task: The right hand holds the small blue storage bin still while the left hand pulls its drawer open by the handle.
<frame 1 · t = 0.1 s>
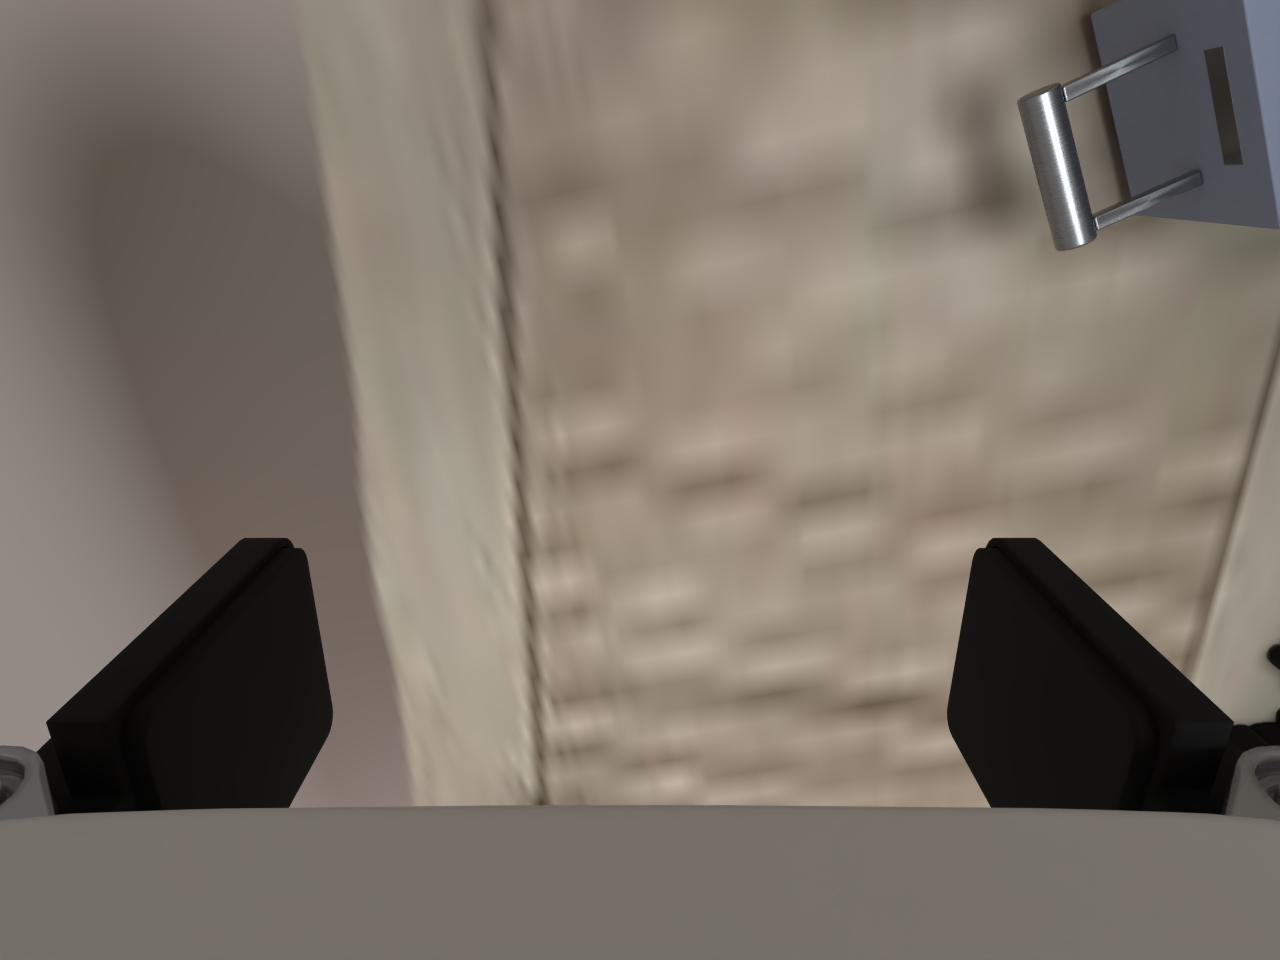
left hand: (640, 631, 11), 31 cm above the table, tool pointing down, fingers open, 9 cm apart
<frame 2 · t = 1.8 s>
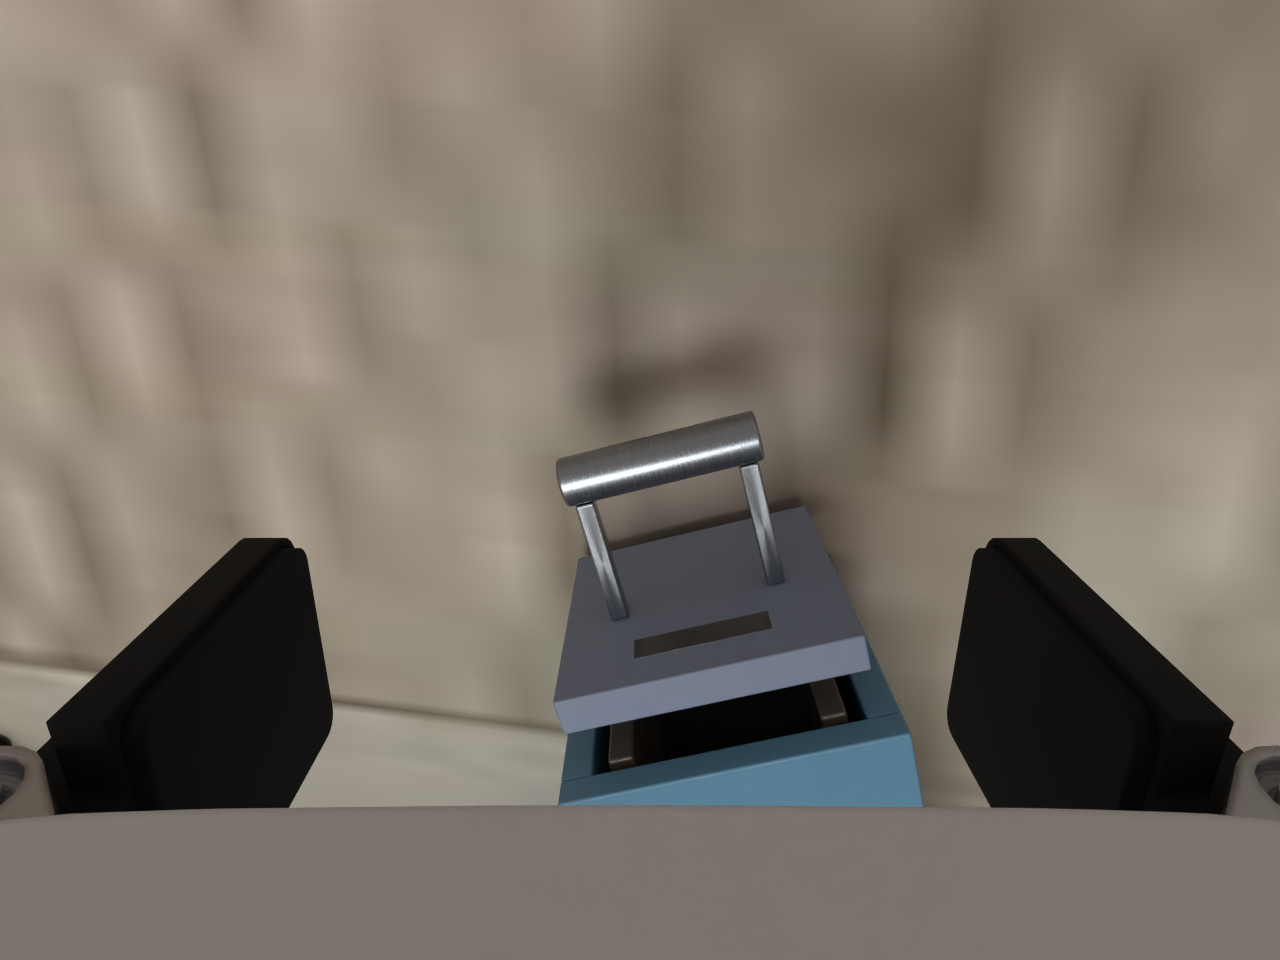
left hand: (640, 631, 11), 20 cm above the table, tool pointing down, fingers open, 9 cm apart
blue storage bin: (751, 756, 37), on the table
drawer: (733, 727, 29), point 6 cm above the table, slide at 1.6 cm
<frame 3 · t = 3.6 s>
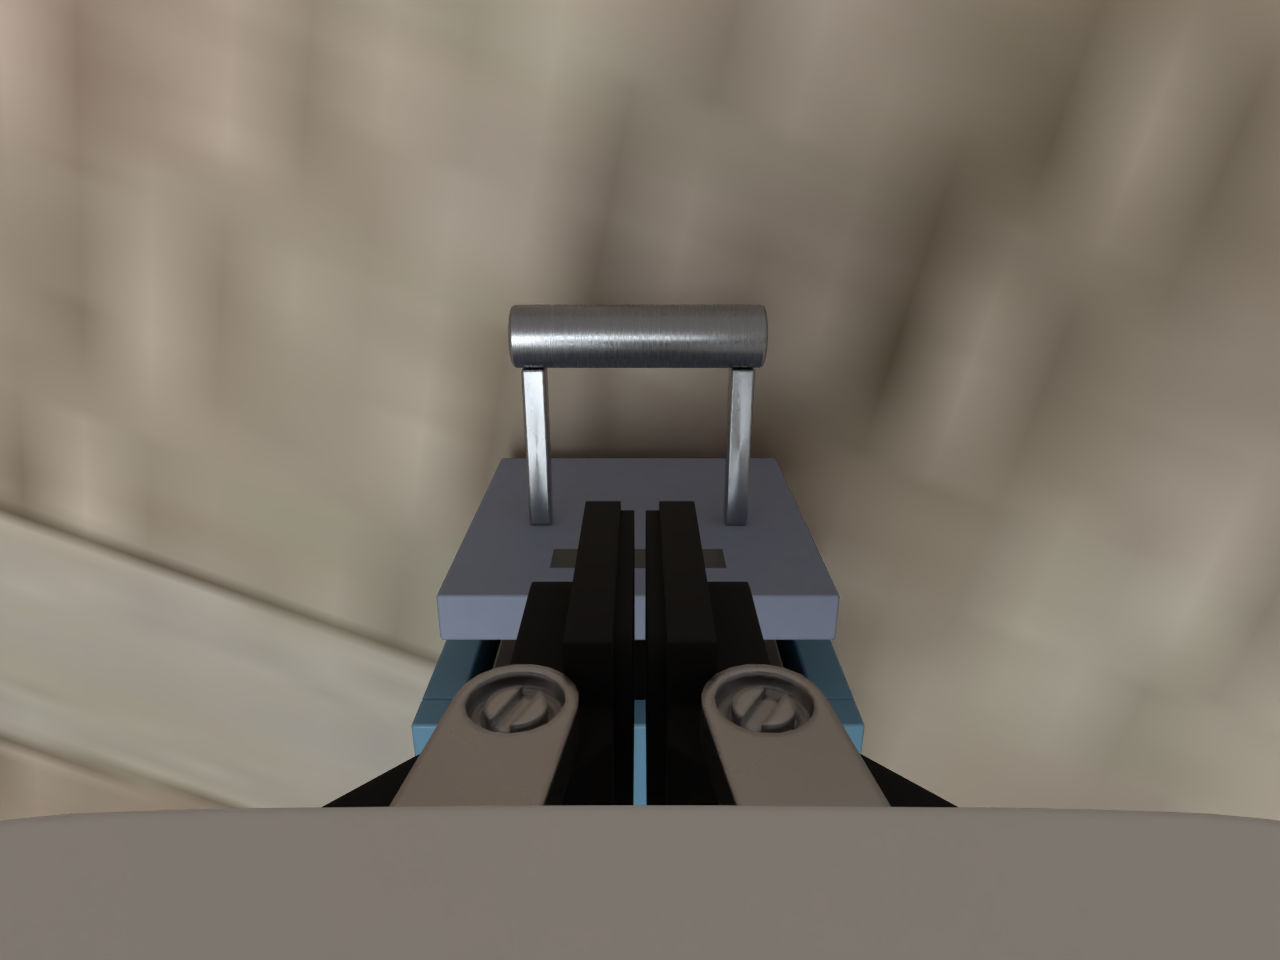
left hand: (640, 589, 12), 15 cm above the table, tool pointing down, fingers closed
blue storage bin: (638, 736, 32), on the table, touching right hand
drawer: (638, 688, 25), point 6 cm above the table, slide at 1.6 cm
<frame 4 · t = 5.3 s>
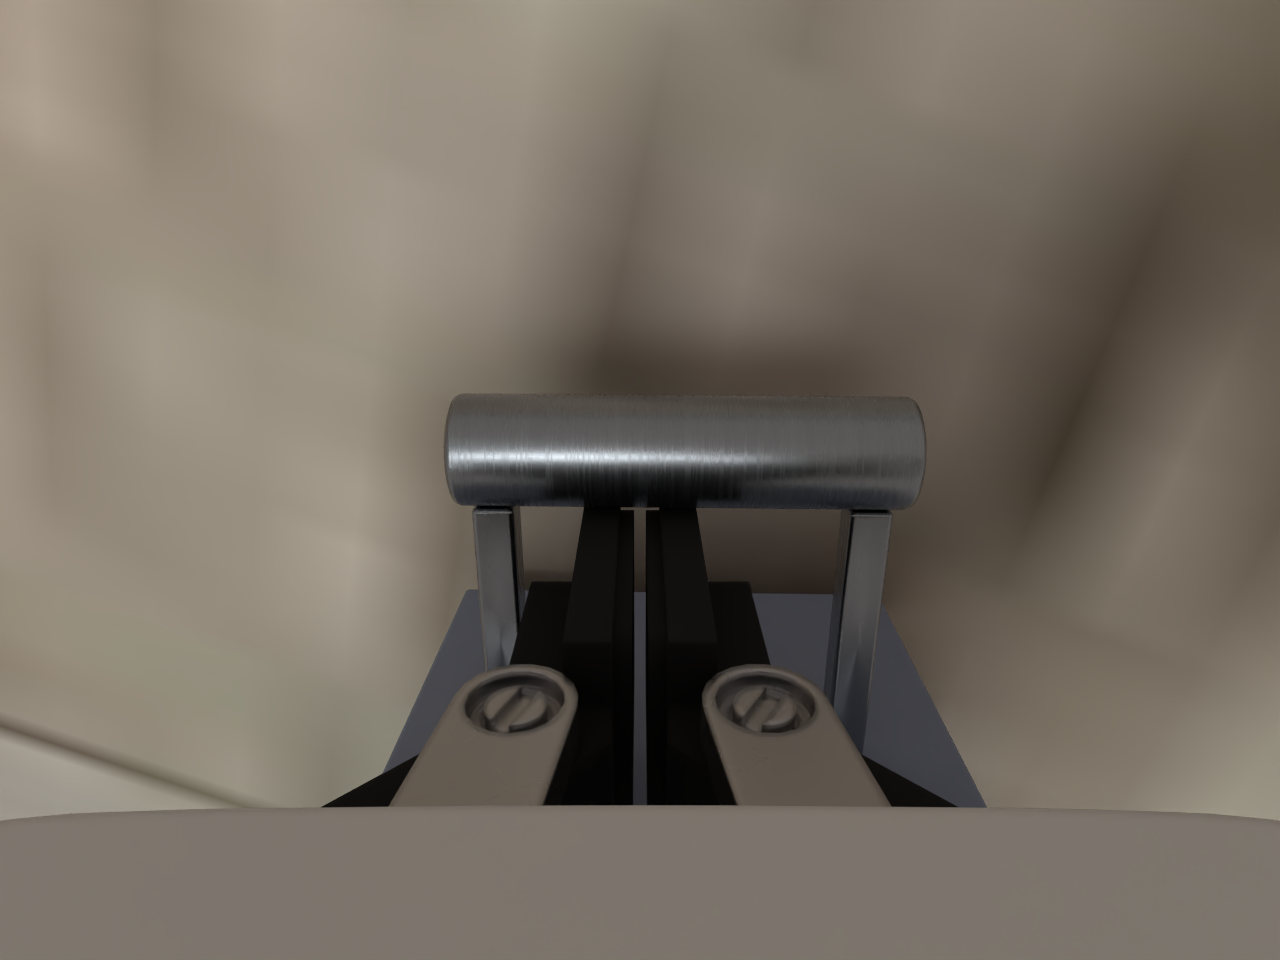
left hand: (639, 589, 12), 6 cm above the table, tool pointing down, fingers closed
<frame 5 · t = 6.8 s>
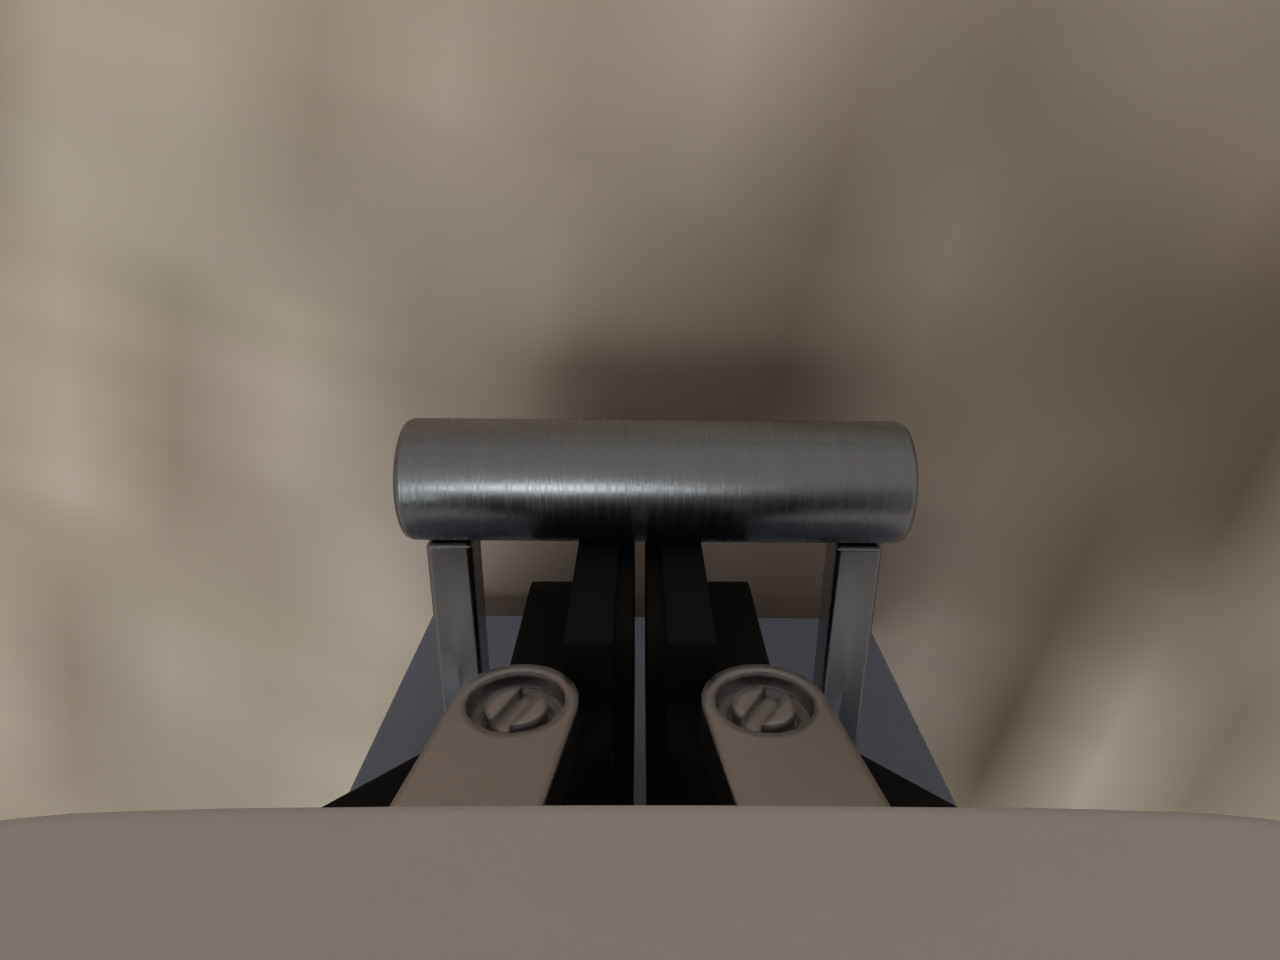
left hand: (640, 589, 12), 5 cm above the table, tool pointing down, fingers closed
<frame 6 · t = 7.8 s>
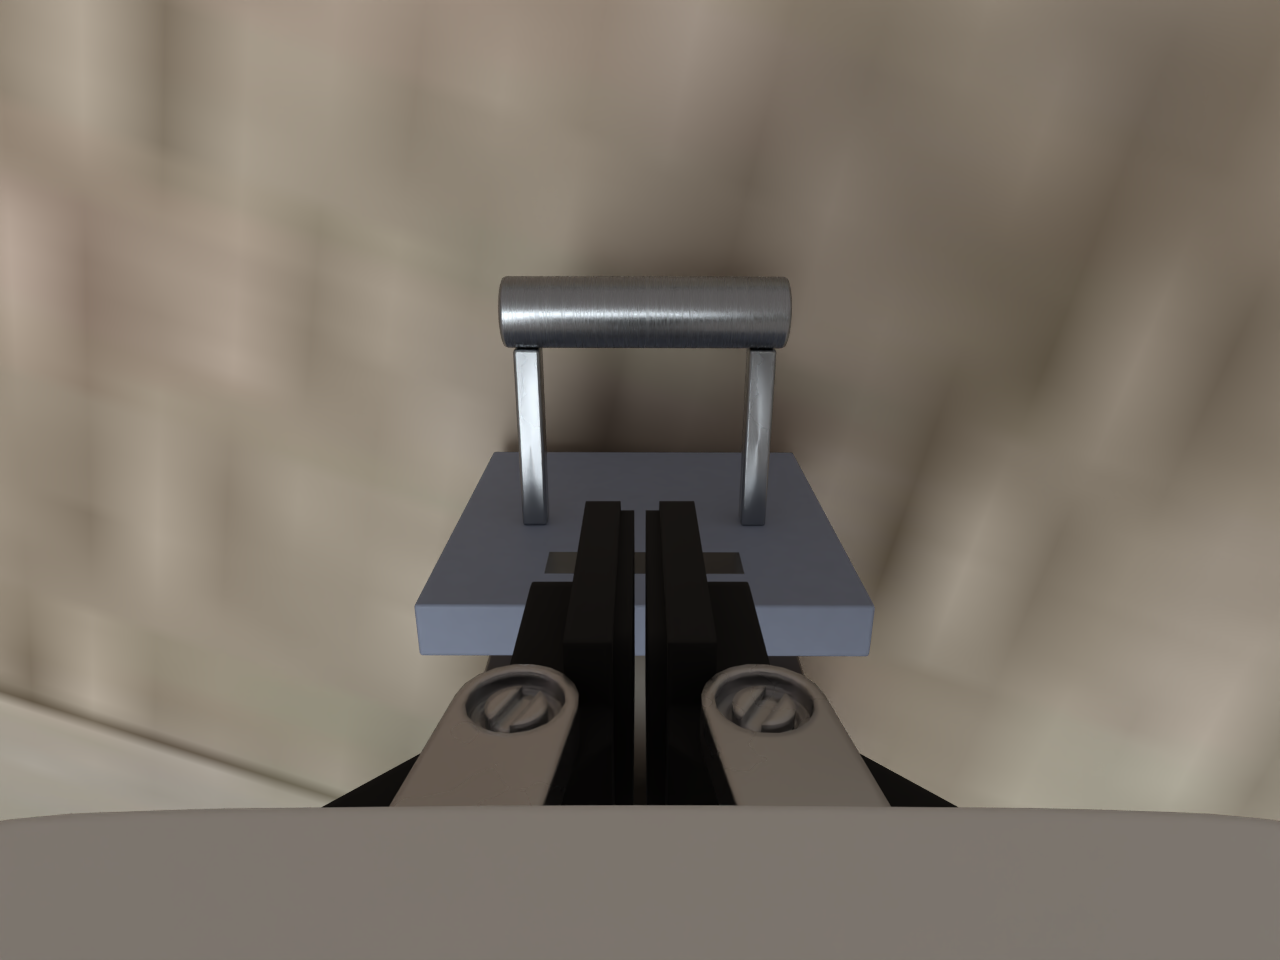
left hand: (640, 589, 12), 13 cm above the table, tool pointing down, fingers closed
drawer: (643, 705, 22), point 6 cm above the table, slide at 8.9 cm
when the right hand's fingers open (6 cm above the table, at t = 8.5 s): blue storage bin stays where it is, on the table.
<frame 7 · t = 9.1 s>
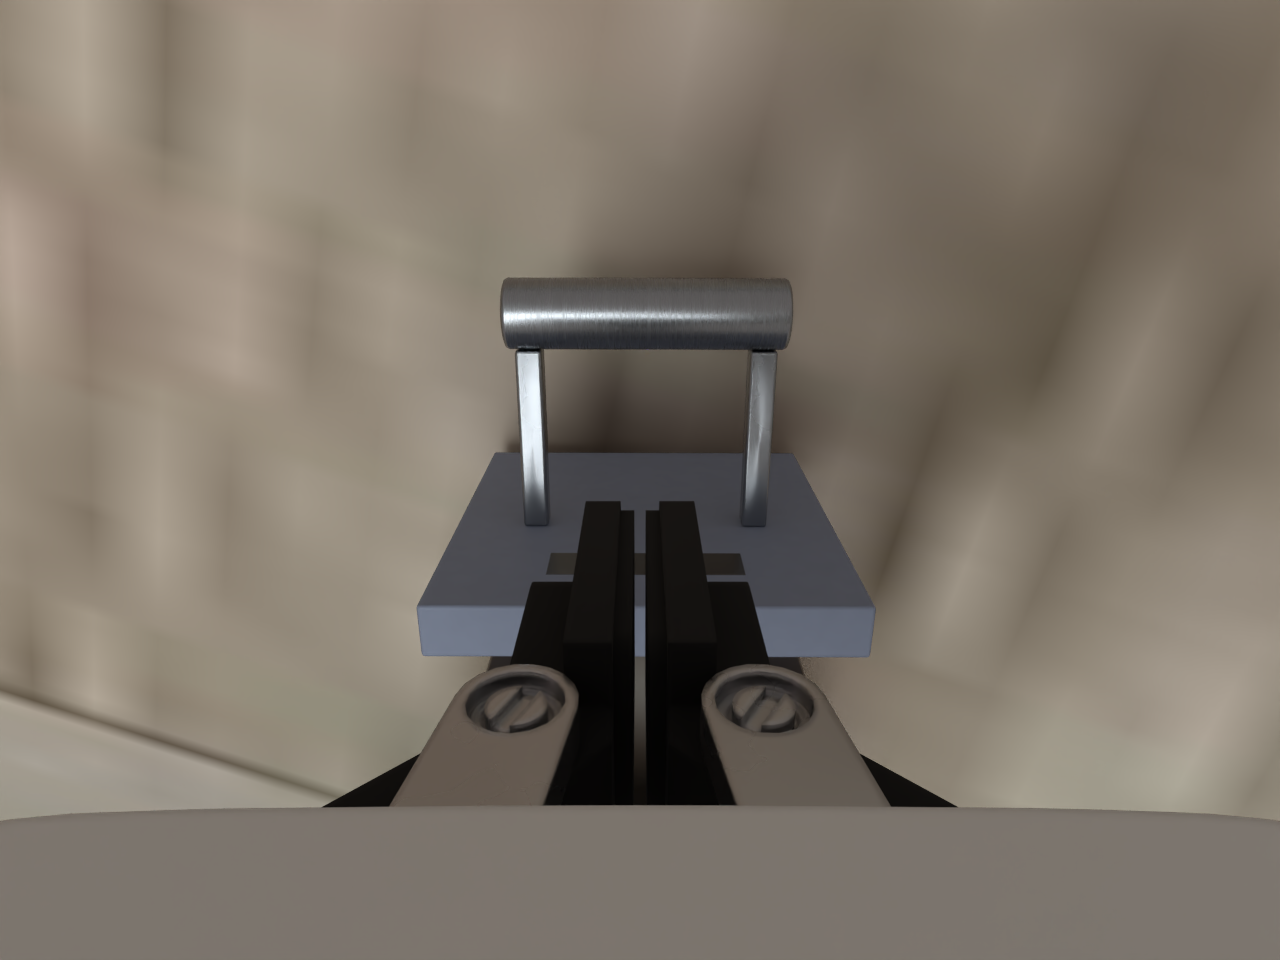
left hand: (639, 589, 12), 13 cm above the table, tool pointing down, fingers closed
drawer: (643, 706, 22), point 6 cm above the table, slide at 8.9 cm
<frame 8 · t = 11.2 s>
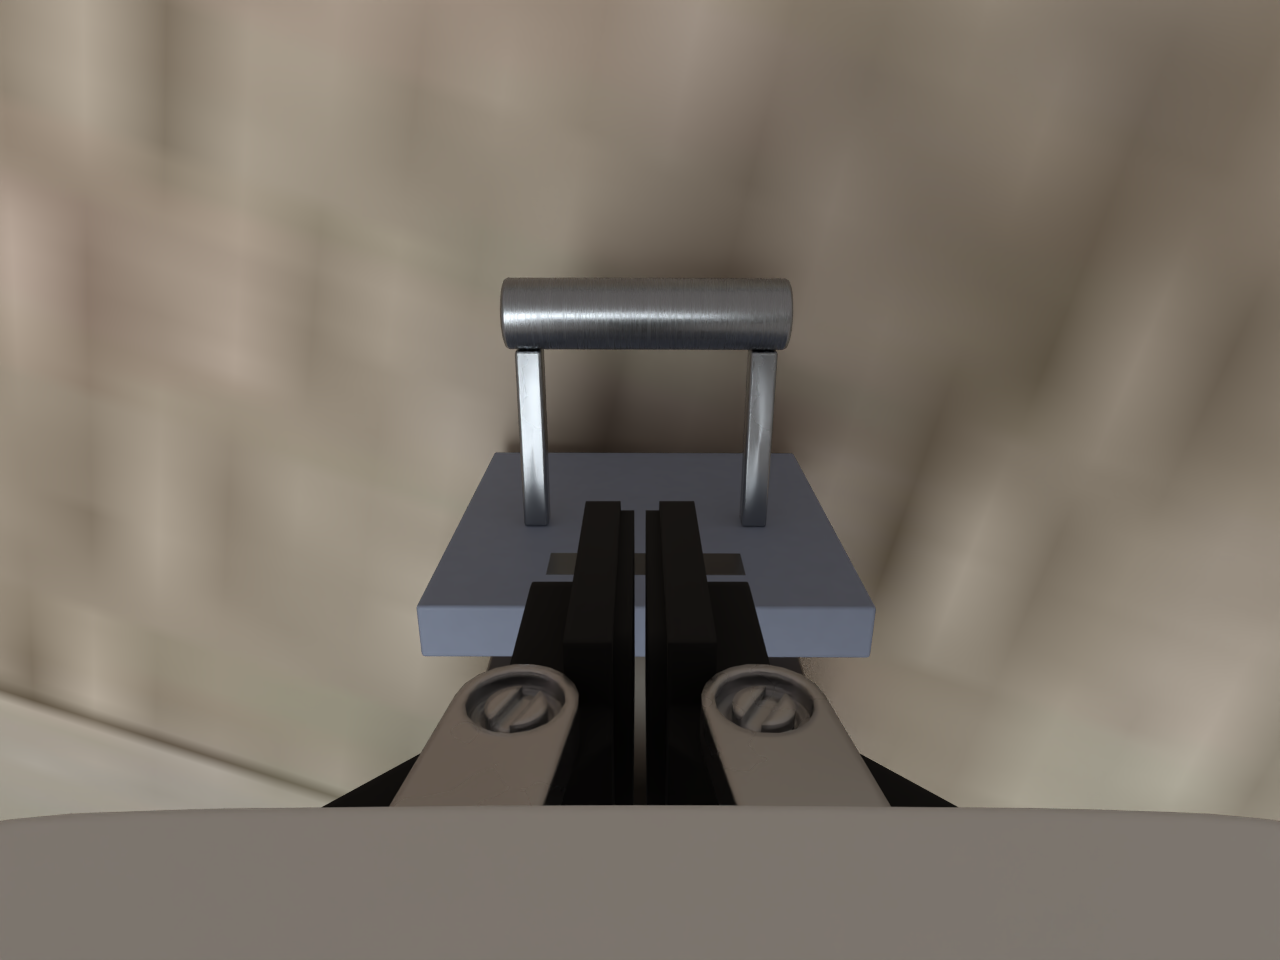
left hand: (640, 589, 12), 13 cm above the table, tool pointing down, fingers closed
drawer: (643, 706, 22), point 6 cm above the table, slide at 8.9 cm
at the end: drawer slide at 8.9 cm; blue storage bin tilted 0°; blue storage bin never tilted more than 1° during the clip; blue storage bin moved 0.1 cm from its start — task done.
